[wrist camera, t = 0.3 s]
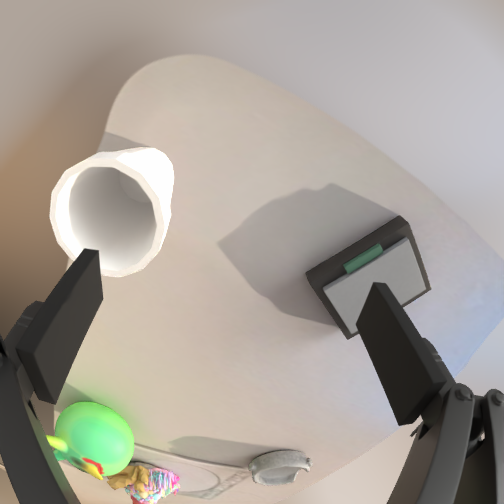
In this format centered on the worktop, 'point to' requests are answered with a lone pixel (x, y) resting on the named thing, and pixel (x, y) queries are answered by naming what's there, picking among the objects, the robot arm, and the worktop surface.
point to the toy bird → (93, 439)
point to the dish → (279, 467)
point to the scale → (370, 273)
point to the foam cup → (114, 208)
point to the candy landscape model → (145, 482)
